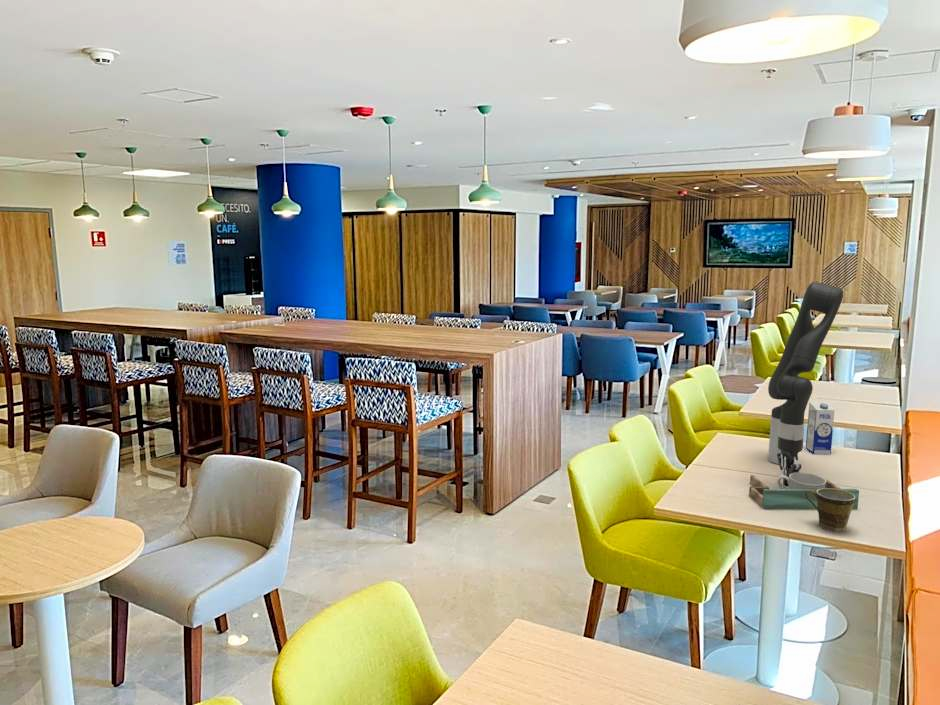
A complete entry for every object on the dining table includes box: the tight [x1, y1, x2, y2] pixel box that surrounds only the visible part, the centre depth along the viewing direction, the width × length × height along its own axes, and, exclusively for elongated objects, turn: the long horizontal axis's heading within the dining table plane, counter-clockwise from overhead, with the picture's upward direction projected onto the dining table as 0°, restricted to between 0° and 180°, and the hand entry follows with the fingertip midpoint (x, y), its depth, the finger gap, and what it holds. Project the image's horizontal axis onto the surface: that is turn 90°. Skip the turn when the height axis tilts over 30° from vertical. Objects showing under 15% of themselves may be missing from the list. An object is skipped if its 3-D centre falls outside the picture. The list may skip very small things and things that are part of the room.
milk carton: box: [805, 401, 835, 455], centre depth 269 cm, size 7×7×20 cm
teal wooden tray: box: [748, 474, 860, 510], centre depth 223 cm, size 23×29×6 cm
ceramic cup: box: [805, 488, 855, 532], centre depth 199 cm, size 13×10×10 cm
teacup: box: [776, 471, 826, 489], centre depth 218 cm, size 14×11×8 cm
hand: (787, 485), depth 228 cm, fingers closed
